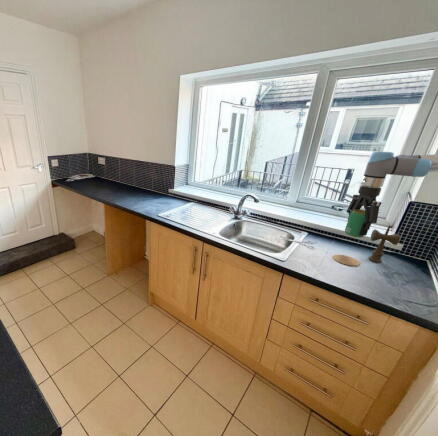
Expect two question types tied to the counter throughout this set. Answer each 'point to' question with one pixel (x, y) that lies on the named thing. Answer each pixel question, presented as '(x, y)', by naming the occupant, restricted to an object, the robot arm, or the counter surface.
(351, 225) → the beverage can
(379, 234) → the kendama
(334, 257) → the cork coaster
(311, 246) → the scissors
